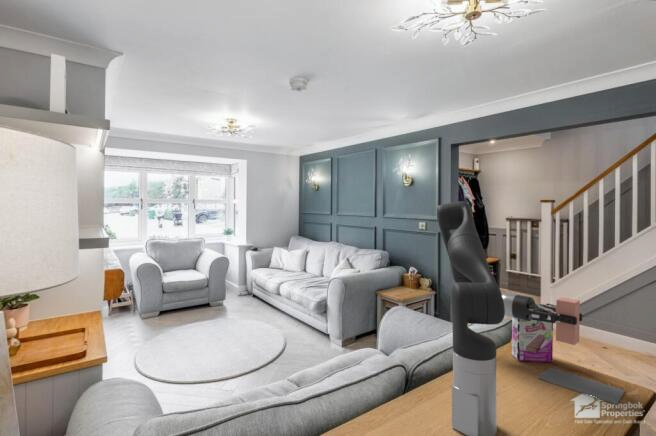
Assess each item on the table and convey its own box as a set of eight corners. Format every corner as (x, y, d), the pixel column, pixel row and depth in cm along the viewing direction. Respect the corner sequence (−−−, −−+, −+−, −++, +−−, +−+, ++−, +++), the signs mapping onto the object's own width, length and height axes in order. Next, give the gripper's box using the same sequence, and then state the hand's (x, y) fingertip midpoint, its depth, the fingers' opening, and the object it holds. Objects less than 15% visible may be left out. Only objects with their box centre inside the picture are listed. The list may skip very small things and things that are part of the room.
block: (574, 345, 93) (575, 303, 93) (556, 340, 96) (556, 299, 96) (579, 341, 96) (579, 300, 96) (561, 336, 99) (561, 297, 99)
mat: (616, 404, 84) (616, 403, 84) (537, 378, 98) (537, 377, 98) (625, 391, 90) (625, 390, 90) (549, 368, 104) (549, 367, 104)
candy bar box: (518, 362, 109) (517, 312, 109) (511, 355, 114) (511, 308, 114) (554, 363, 108) (553, 313, 108) (545, 356, 113) (545, 308, 113)
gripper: (506, 298, 103) (572, 311, 89) (524, 291, 112) (586, 302, 98) (505, 322, 103) (571, 338, 89) (524, 313, 112) (586, 326, 98)
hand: (579, 319), depth 94 cm, fingers closed on block, 4 cm apart
